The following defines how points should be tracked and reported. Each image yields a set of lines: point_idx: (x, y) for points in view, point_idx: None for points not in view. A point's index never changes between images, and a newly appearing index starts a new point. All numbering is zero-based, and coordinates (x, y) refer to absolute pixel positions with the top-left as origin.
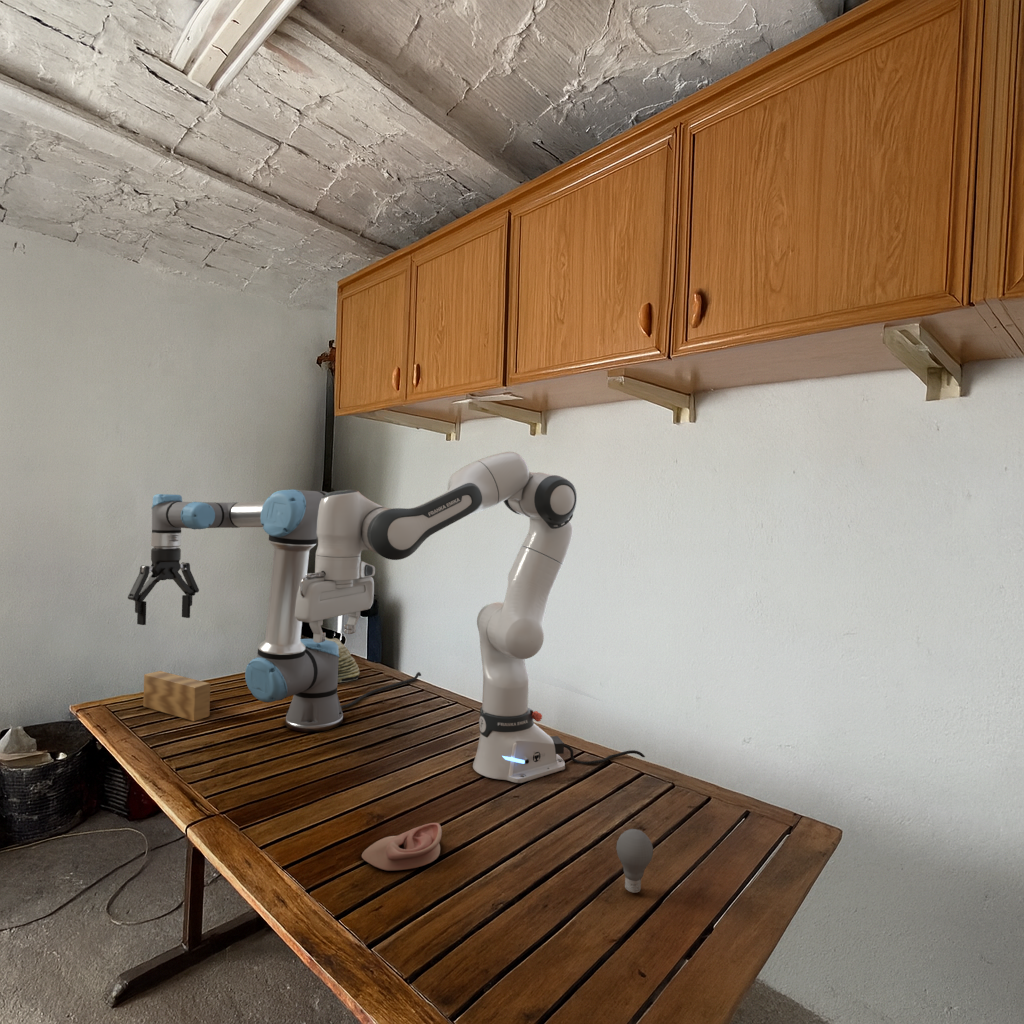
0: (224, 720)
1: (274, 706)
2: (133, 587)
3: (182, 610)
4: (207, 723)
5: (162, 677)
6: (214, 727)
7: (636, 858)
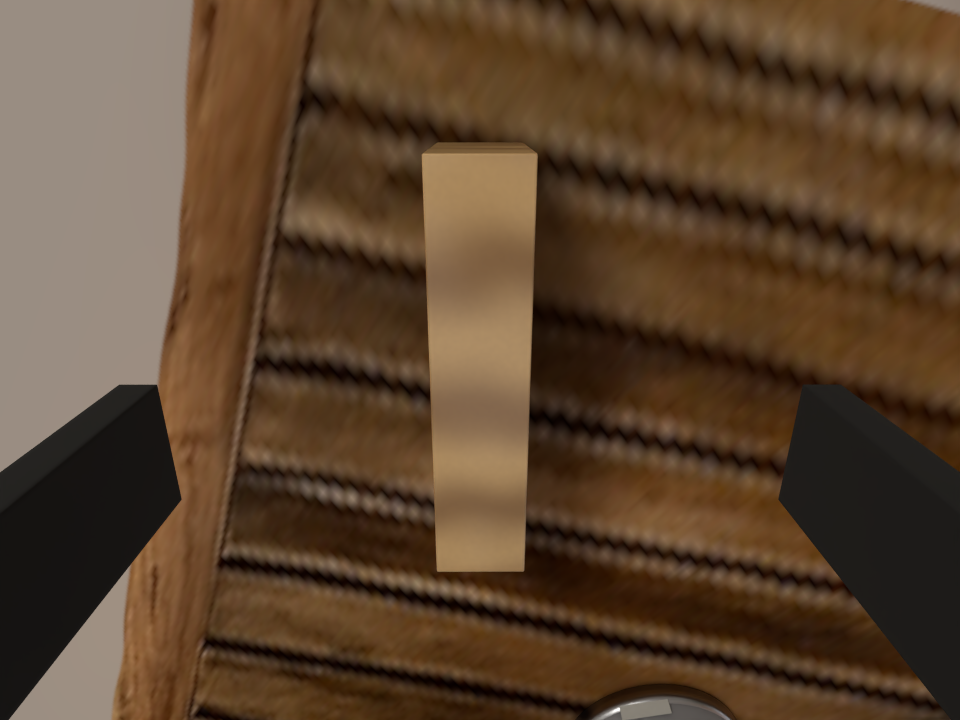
0: None
1: (725, 567)
2: None
3: (859, 444)
4: None
5: (449, 307)
6: None
7: None
